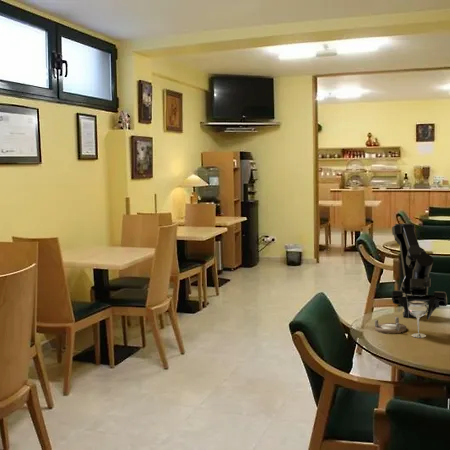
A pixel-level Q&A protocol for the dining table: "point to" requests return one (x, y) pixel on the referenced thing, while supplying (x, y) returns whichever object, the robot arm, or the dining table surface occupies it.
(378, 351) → the dining table surface
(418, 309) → the wineglass
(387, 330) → the glass stand
